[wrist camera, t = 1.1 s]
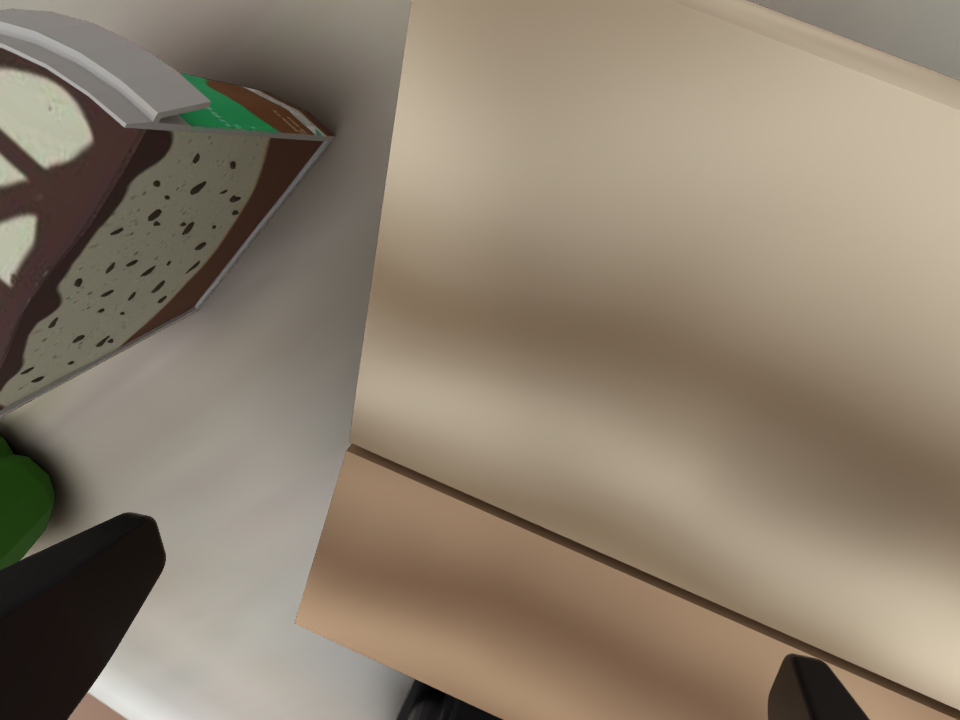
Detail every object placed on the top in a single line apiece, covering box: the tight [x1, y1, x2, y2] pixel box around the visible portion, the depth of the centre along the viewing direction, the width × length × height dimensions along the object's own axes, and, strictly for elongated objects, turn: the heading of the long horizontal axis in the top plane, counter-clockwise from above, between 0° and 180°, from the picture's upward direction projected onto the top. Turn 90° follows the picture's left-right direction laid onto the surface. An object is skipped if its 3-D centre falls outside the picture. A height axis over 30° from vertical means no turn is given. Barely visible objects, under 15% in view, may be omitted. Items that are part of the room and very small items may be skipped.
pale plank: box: [349, 0, 960, 710], centre depth 12 cm, size 12×20×2 cm, turn 71°
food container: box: [0, 9, 335, 424], centre depth 17 cm, size 12×6×10 cm, turn 135°
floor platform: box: [295, 444, 960, 720], centre depth 18 cm, size 20×20×7 cm
